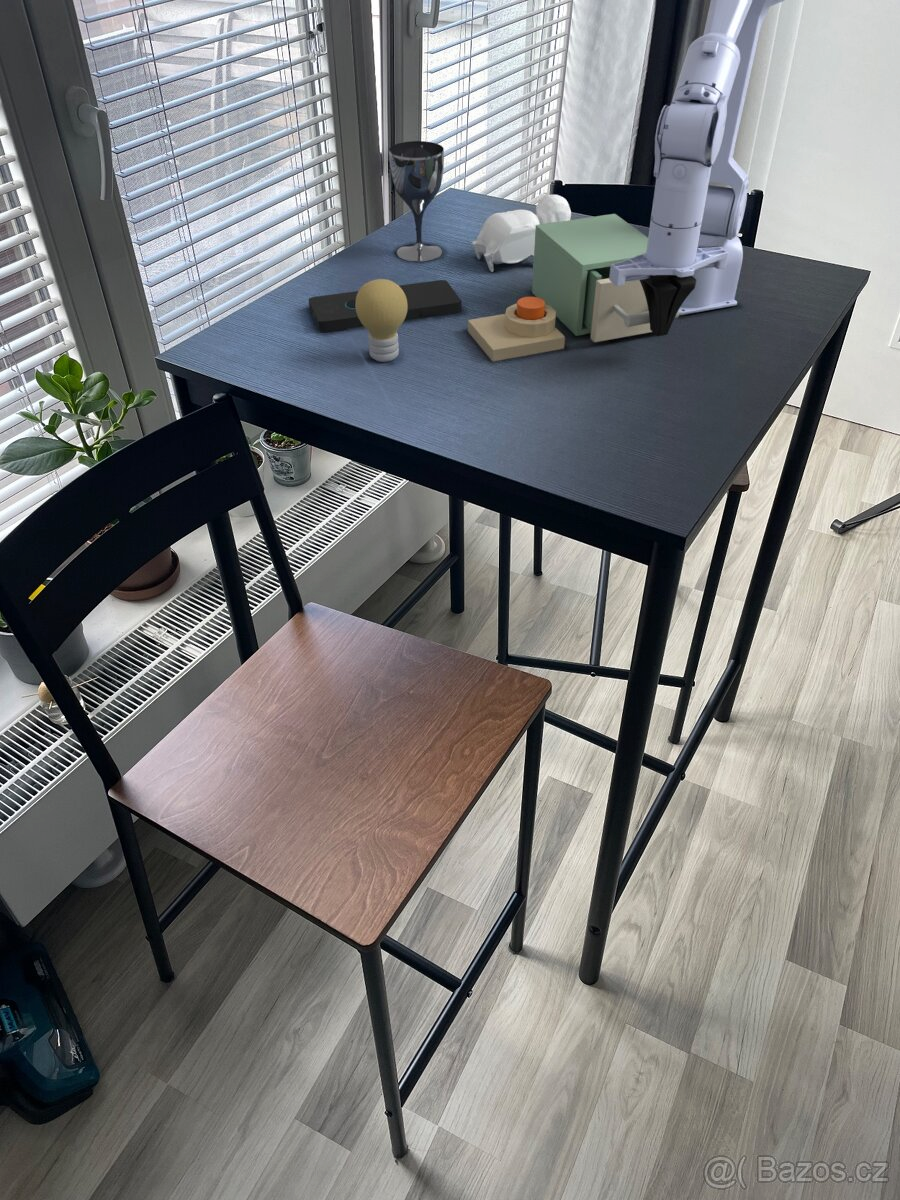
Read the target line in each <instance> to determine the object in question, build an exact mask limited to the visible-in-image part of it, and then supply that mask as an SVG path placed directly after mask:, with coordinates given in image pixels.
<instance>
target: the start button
mask: <svg viewBox="0 0 900 1200" xmlns="http://www.w3.org/2000/svg"><path fill="white" fill-rule="evenodd" d="M516 304H517V317H518V318H521V319H524V320H538V319H542V318H543V317H544V313H545V301H544V300H542V299H541V298H537V297H536V296H523V297H521V298H519V299H518V300H517V301H516Z"/></svg>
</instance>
